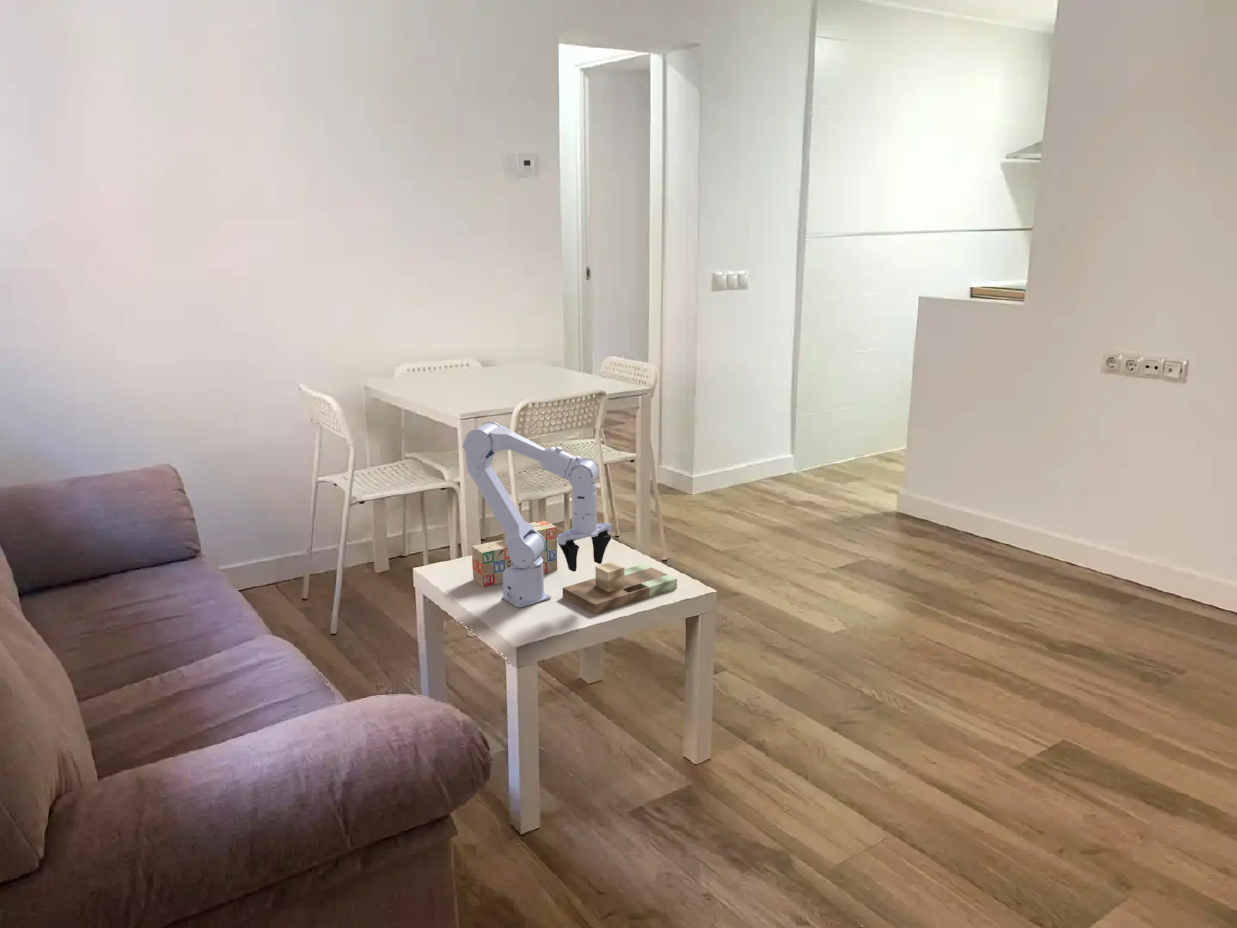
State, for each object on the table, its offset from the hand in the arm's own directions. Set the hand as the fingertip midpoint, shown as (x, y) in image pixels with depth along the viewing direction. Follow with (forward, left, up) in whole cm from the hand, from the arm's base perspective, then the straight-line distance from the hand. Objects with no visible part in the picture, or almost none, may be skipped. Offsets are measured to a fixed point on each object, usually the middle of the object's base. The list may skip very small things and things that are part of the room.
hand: (585, 566), depth 227 cm
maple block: (+7, 0, -7) cm, 10 cm away
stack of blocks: (-3, +26, -10) cm, 28 cm away
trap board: (+11, 0, -9) cm, 14 cm away
